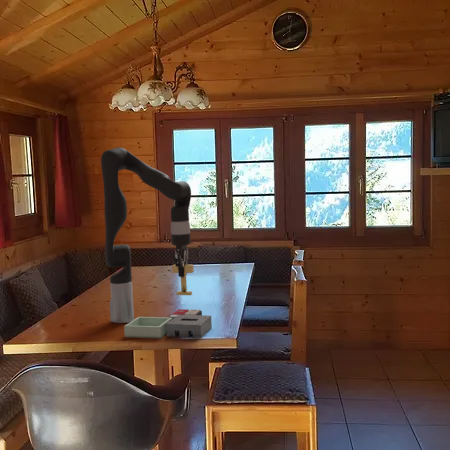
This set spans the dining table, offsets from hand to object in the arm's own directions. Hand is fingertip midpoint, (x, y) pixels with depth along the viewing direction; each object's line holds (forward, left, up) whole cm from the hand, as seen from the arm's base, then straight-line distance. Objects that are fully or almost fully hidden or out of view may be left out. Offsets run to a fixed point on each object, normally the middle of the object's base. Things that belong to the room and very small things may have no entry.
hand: (182, 275), depth 228 cm
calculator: (-6, +16, -23) cm, 29 cm away
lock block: (+2, 0, -23) cm, 23 cm away
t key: (0, 0, -8) cm, 8 cm away
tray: (-14, -3, -23) cm, 27 cm away
